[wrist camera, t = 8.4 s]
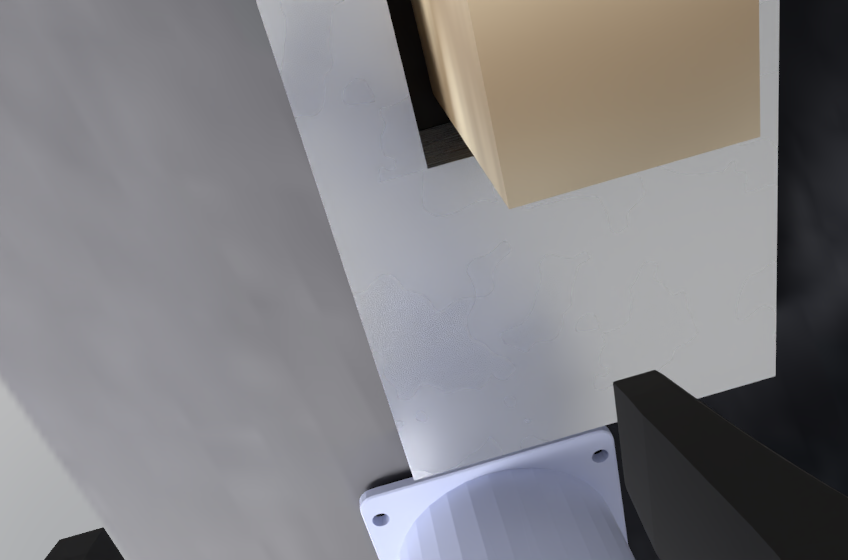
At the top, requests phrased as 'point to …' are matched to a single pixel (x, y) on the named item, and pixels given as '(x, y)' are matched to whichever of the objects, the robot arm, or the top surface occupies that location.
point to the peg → (591, 85)
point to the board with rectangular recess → (524, 254)
